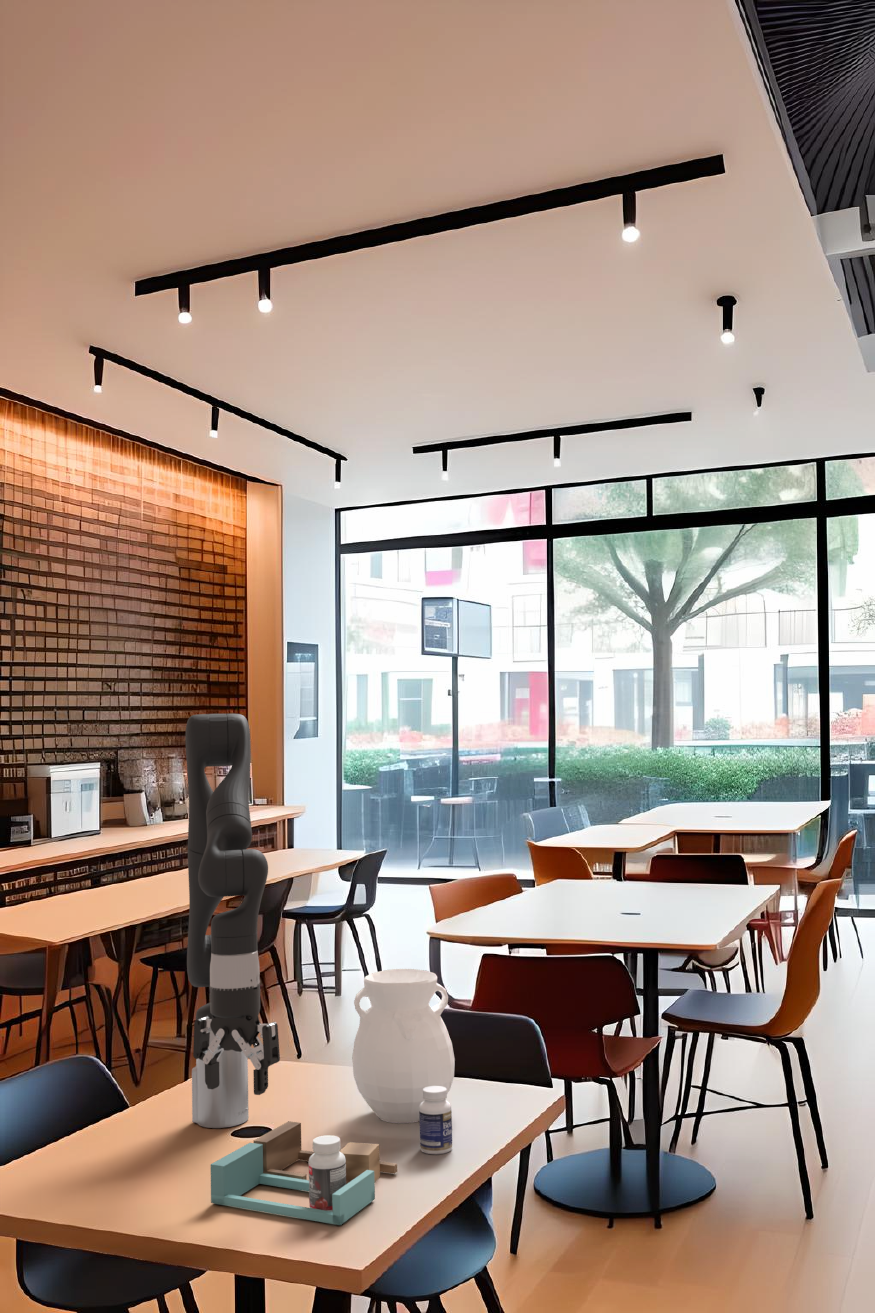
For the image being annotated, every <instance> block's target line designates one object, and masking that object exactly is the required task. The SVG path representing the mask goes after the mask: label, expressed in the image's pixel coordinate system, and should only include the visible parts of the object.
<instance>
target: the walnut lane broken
mask: <svg viewBox="0 0 875 1313" xmlns="http://www.w3.org/2000/svg"><path fill="white" fill-rule="evenodd" d="M252 1143H256V1144H263V1173H265V1174H271V1175H278V1176H284V1177H290V1178H297V1179H303V1180H308V1179H307V1174H305V1173H300V1172H295V1171H287V1170H284V1169H286V1168H287V1167H289V1166H291V1165H292V1164H293V1163H296V1162H297V1161H304V1162H309V1158H310V1156H311V1155H312V1154H314V1153H315V1152H314V1151H313V1150H312V1151H310V1150H304V1149H302V1122H299V1121H298V1122H297V1121H287V1122H284V1123H283V1124H280V1125H279V1126H277V1127H275V1128H273V1129H272V1130H269V1131H268V1132H266V1133H265V1134H263V1135H261V1136H259V1137H257V1138H256V1139H254V1140H253V1142H252ZM380 1173H385V1174H386V1173H387V1174H396V1173H398V1163H395V1162H388V1161H382V1160H380ZM349 1182H350V1181H347V1180H346V1184H348V1183H349Z"/></svg>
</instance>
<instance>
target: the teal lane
mask: <svg viewBox="0 0 875 1313" xmlns="http://www.w3.org/2000/svg"><path fill="white" fill-rule="evenodd" d="M375 1183H376V1182H375V1180H374V1171H372V1170H366V1171H365V1172H363V1173H362V1174H360V1175H359V1176H358V1177H356V1178H355V1179H353V1180H352V1181H350V1182H349V1183H348V1184H346V1185H345V1186H343V1187H342V1188H340V1189H339V1190H338V1191H336V1192H335V1193H333V1194H332V1203H333V1212H331V1211H325V1210H319V1209H313V1208H310V1207H307V1206H299V1205H294V1204H289V1203H283V1202H276V1201H270V1200H265V1199H260V1198H259V1199H258V1198H253V1197H246V1196H242V1195H243V1194H245V1193H246V1192H249V1191H250V1190H251V1189H253V1188H255V1187H256V1186H258V1185H266V1186H273V1187H278V1188H285V1189H290V1190H291V1189H292V1190H298V1191H304V1192H309V1179H307V1180H303V1179H297V1178H290V1177H284V1176H278V1175H271V1174H265V1173H263V1144H256V1143H253V1142H249V1143H246V1144H244V1145H243V1146H241V1147H239V1148H238V1149H235V1150H234V1151H232V1152H230V1153H228V1154H227V1155H225V1156H223V1157H221V1158H219V1159H218V1160H216V1161H214V1162H212V1163H210V1203H211V1204H214V1205H220V1206H228V1207H233V1208H238V1209H243V1210H250V1211H255V1212H262V1213H267V1214H272V1215H278V1216H279V1215H280V1216H285V1217H290V1218H297V1219H301V1220H307V1221H313V1222H314V1221H315V1222H320V1223H325V1224H330V1225H336V1226H337V1225H338V1226H342V1224H343V1225H344V1224H345V1223H346V1222H347V1221H348V1220H349V1219H351V1218H352V1217H353V1216H355V1215H357V1213H359V1211H361V1210H362V1209H364V1208H365V1207H366V1206H368V1205H369V1204H371V1203H372V1202H374V1200H376V1191H375V1189H376V1186H375V1185H376V1184H375Z"/></svg>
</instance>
